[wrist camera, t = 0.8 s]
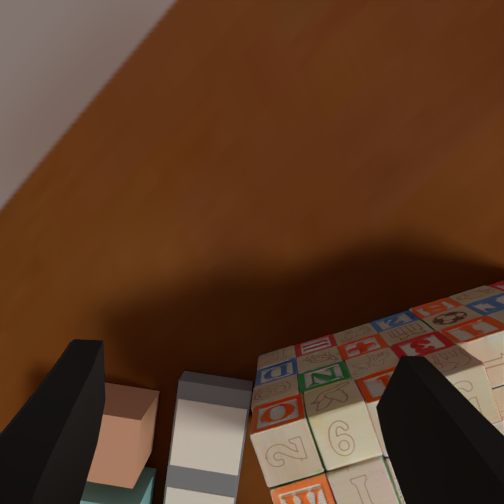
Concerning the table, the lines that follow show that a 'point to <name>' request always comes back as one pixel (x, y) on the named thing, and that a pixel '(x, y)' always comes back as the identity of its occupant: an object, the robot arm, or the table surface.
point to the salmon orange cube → (124, 435)
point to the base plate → (207, 439)
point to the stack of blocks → (367, 396)
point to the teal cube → (121, 491)
